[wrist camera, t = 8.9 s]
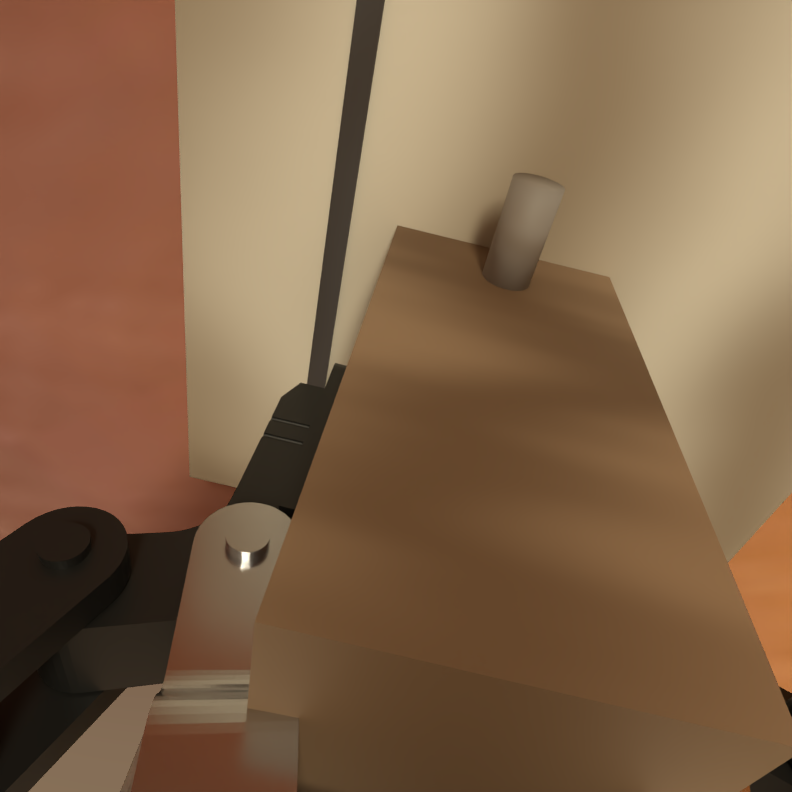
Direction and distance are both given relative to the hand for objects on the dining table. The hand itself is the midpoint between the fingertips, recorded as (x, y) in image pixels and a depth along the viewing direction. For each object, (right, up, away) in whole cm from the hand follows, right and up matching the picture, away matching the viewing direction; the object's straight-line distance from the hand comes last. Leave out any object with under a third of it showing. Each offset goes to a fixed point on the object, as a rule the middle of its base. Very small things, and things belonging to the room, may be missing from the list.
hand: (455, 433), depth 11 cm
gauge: (0, +1, +1) cm, 2 cm away
